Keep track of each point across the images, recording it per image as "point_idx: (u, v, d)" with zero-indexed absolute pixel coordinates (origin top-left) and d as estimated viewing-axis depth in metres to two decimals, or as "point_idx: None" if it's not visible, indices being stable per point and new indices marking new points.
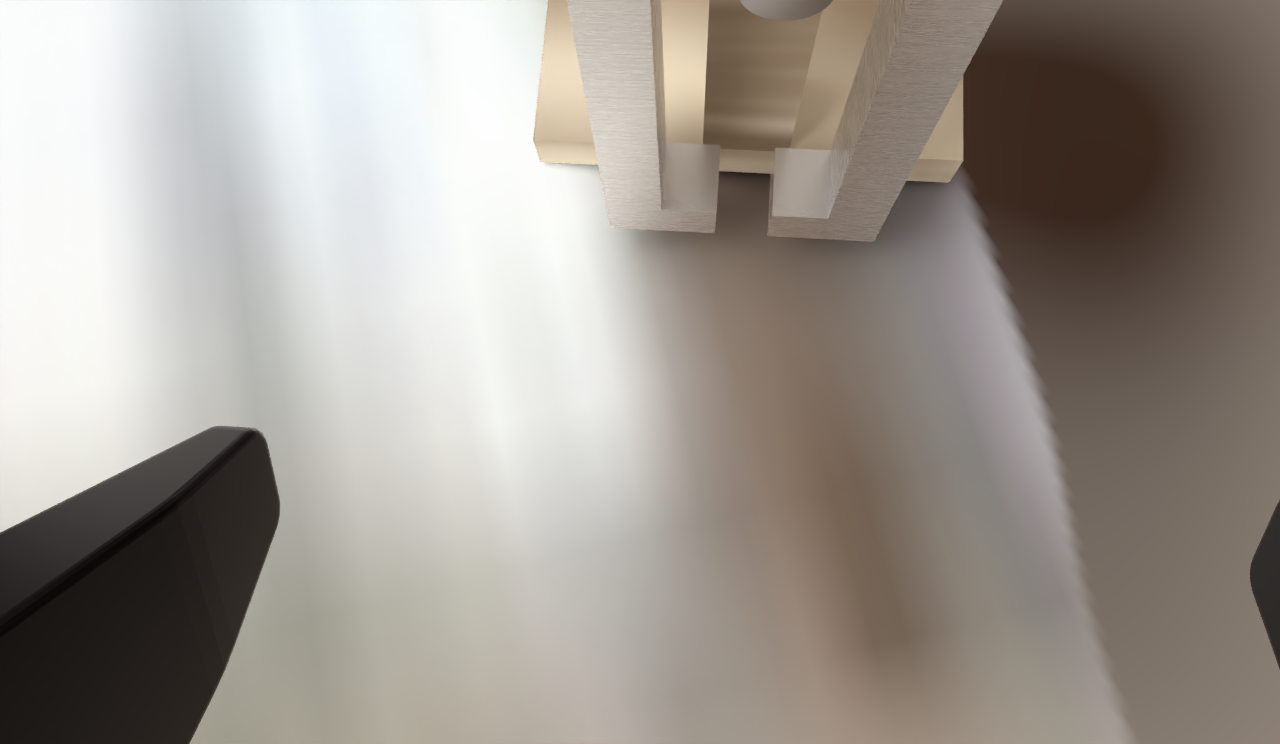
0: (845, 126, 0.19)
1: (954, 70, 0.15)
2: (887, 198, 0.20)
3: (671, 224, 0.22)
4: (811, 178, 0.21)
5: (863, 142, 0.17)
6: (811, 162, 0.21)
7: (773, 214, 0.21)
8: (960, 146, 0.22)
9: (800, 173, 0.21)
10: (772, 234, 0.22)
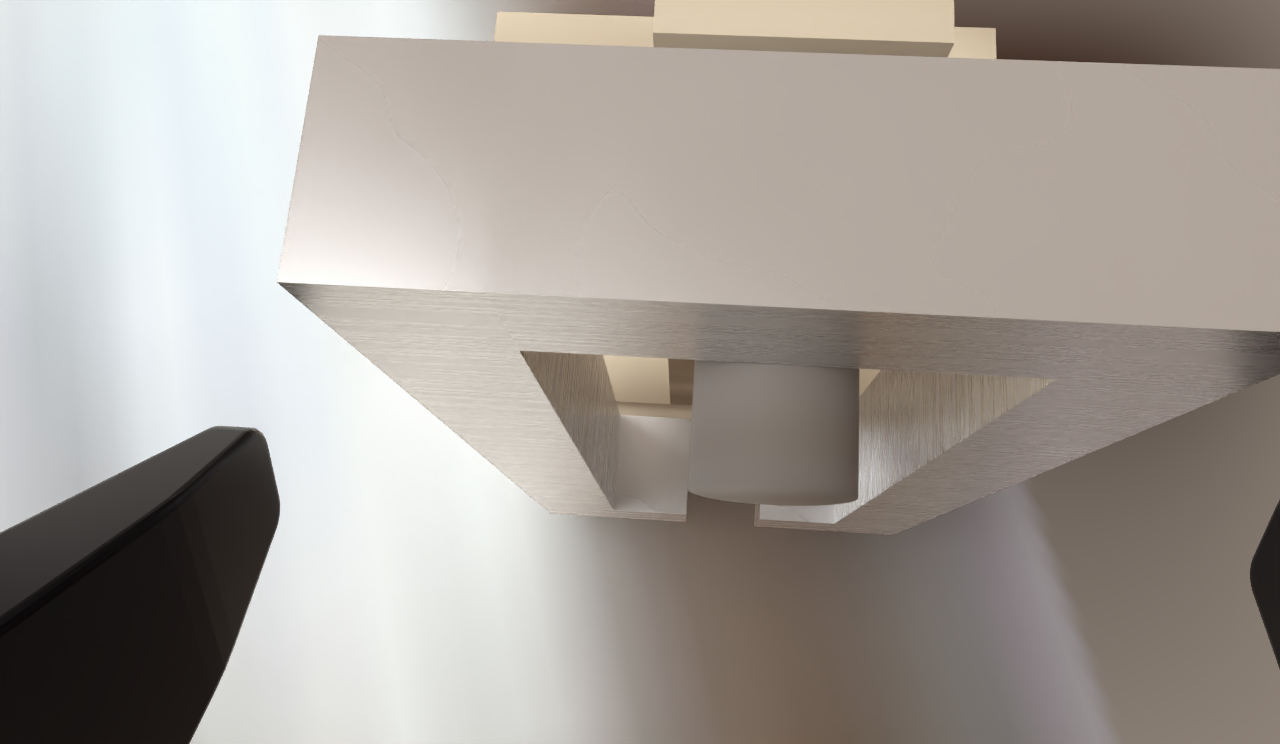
0: None
1: (1030, 469, 0.10)
2: (914, 519, 0.14)
3: (628, 516, 0.17)
4: None
5: (885, 496, 0.12)
6: None
7: (761, 516, 0.16)
8: None
9: None
10: (761, 525, 0.17)
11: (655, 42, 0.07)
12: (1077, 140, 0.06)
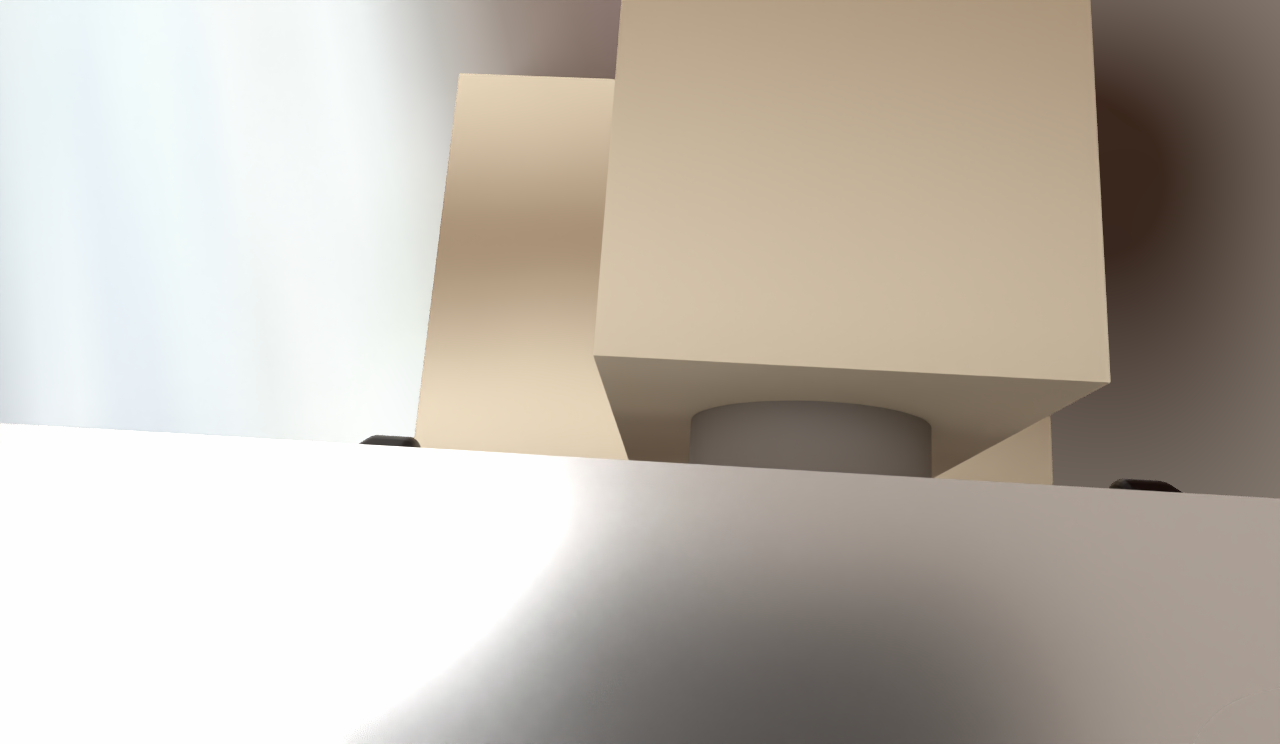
0: None
1: None
2: None
3: None
4: None
5: None
6: None
7: None
8: None
9: None
10: None
11: (598, 363, 0.04)
12: None
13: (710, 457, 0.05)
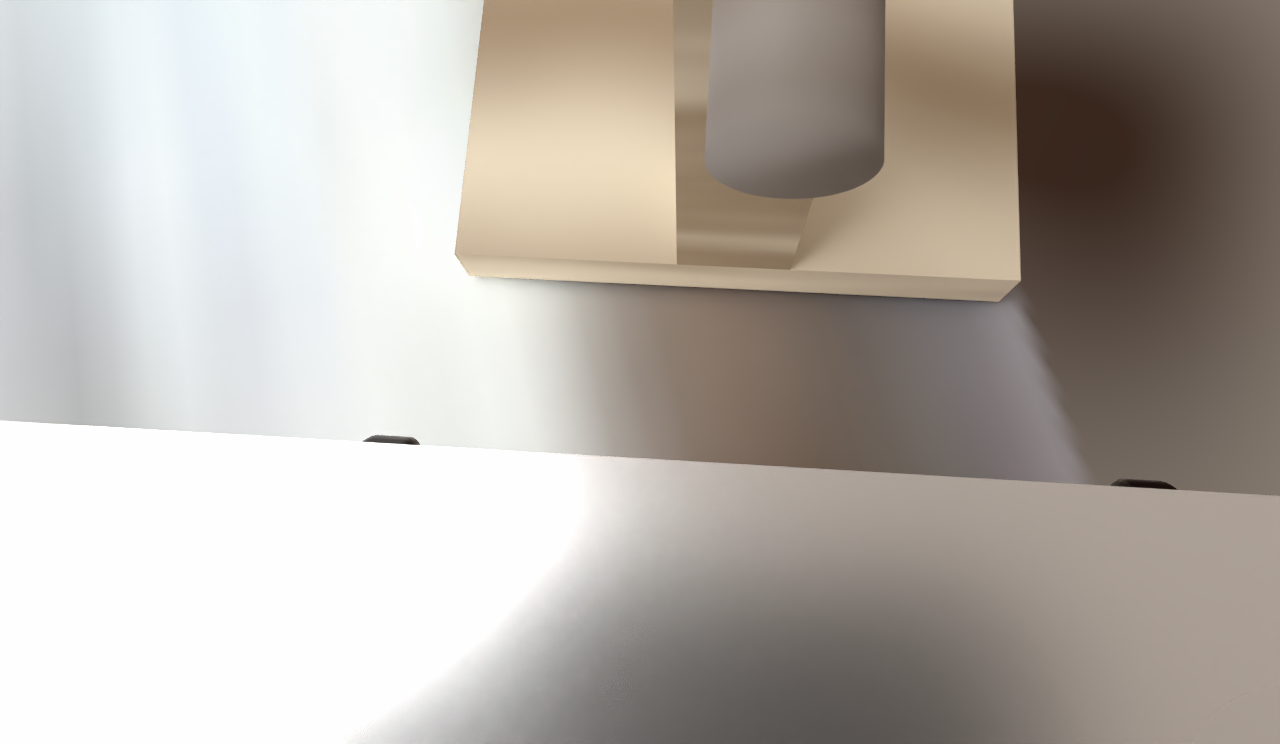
0: None
1: None
2: None
3: None
4: None
5: None
6: None
7: None
8: (1016, 261, 0.17)
9: None
10: None
11: None
12: None
13: None
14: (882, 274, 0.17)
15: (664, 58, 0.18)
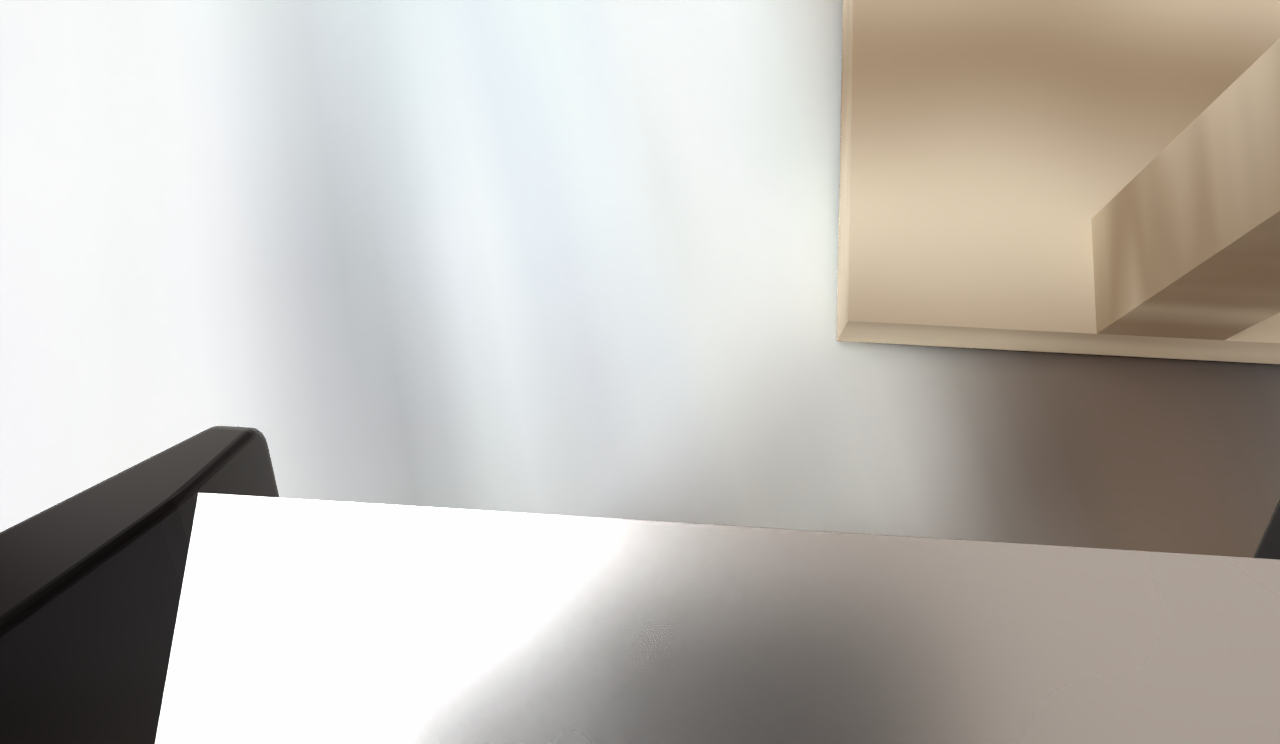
0: None
1: None
2: None
3: None
4: None
5: None
6: None
7: None
8: None
9: None
10: None
11: None
12: (1172, 671, 0.04)
13: None
14: None
15: (1058, 106, 0.17)
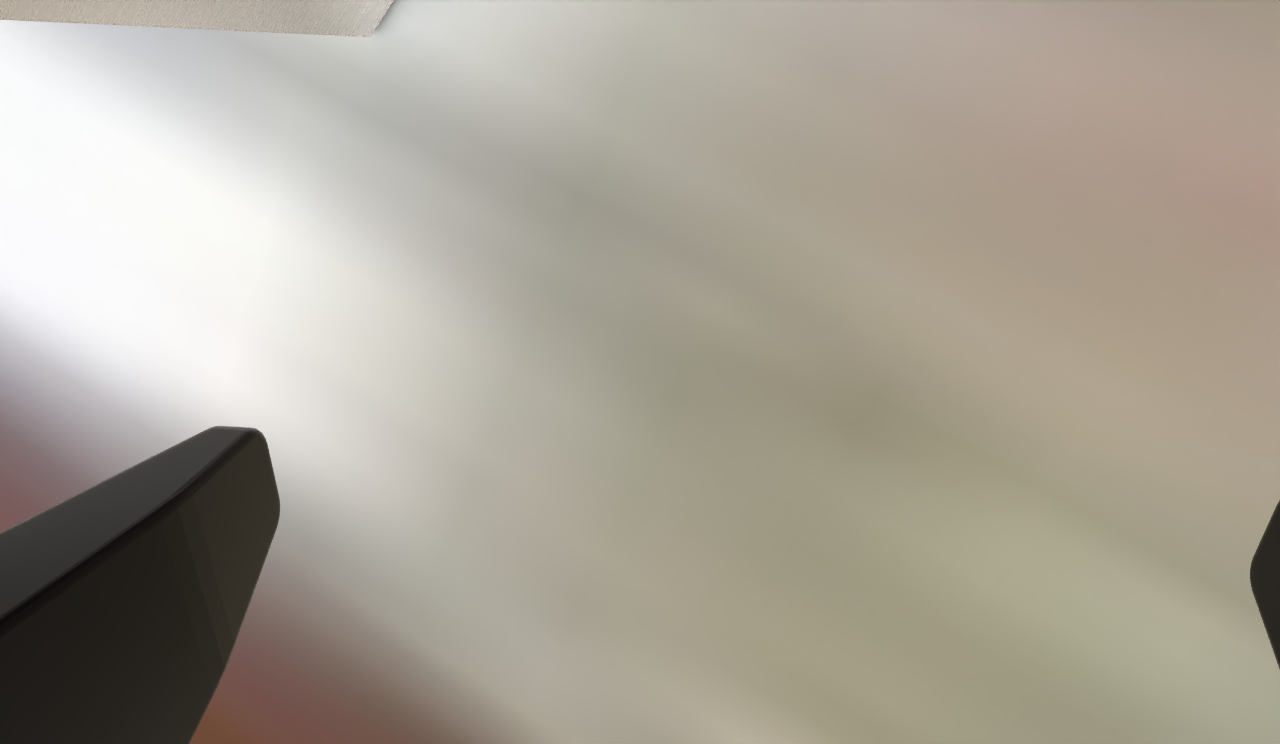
0: None
1: None
2: None
3: None
4: None
5: None
6: None
7: None
8: None
9: None
10: None
11: None
12: None
13: None
14: None
15: None
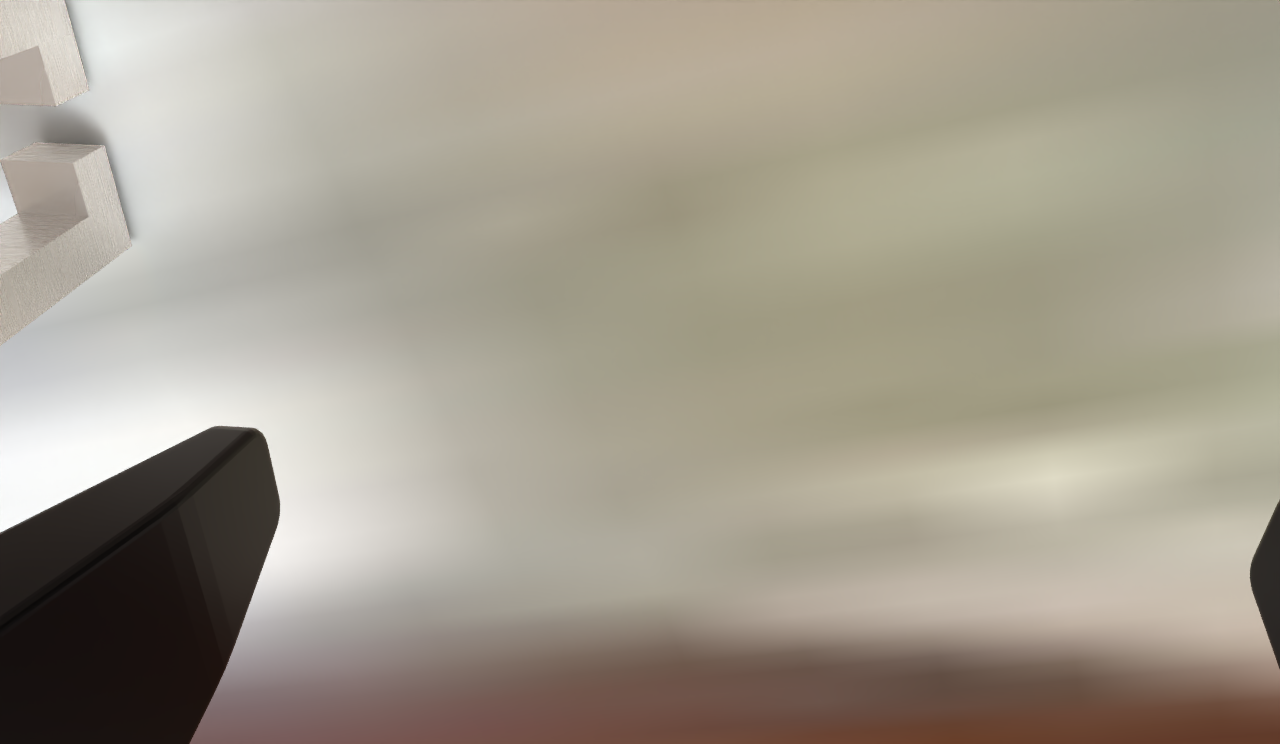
0: None
1: None
2: None
3: (106, 194, 0.22)
4: (0, 63, 0.19)
5: None
6: None
7: (54, 104, 0.20)
8: None
9: None
10: (85, 87, 0.21)
11: None
12: None
13: None
14: None
15: None
